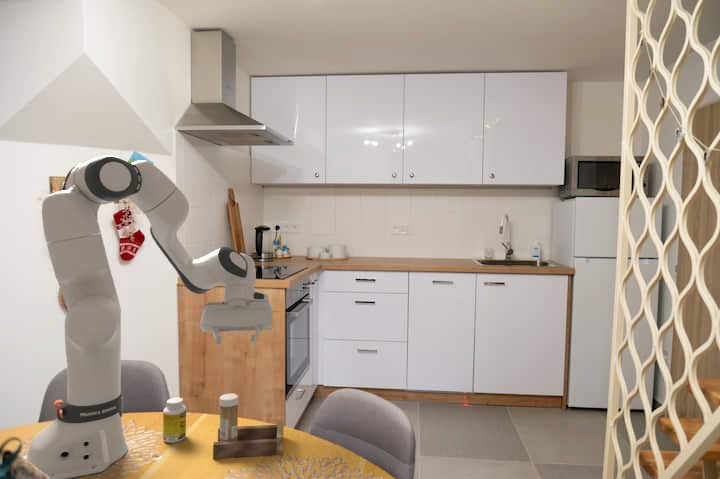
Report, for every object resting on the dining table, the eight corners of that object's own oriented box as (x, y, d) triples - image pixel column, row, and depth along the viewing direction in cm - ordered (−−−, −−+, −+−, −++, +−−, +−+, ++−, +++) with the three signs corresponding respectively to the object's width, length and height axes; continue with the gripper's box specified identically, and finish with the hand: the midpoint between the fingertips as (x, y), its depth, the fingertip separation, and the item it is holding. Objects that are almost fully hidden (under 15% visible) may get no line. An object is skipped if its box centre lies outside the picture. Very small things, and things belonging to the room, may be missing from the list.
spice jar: (240, 450, 114) (241, 397, 114) (222, 455, 112) (222, 400, 111) (234, 442, 118) (235, 391, 117) (216, 447, 115) (217, 394, 115)
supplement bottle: (182, 443, 117) (182, 404, 117) (159, 444, 116) (160, 404, 116) (188, 433, 122) (188, 396, 122) (167, 434, 122) (167, 396, 122)
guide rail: (213, 459, 110) (213, 440, 109) (218, 440, 119) (219, 423, 119) (283, 455, 112) (283, 437, 112) (283, 437, 122) (283, 420, 121)
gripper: (201, 296, 132) (194, 338, 122) (273, 294, 135) (272, 335, 126) (204, 308, 136) (198, 350, 127) (274, 306, 139) (273, 347, 130)
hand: (235, 343), depth 126 cm, fingers open, 8 cm apart
